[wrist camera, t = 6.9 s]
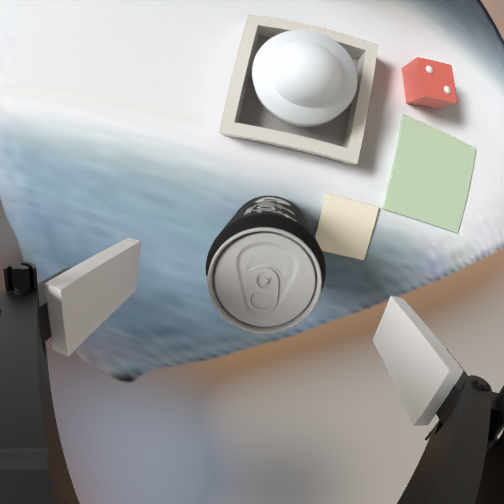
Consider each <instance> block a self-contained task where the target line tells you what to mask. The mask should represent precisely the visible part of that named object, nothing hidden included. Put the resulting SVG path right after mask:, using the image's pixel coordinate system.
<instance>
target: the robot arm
mask: <svg viewBox="0 0 504 504" xmlns="http://www.w3.org/2000/svg"><path fill="white" fill-rule="evenodd" d="M140 244H141V241H139V240H134V239H130V238H127V239H125V240H123V241H121V242H119V243H117V244H115V245H113V246H111V247H109V248H107V249H106V250H104V251H102V252H100V253H98V254H96V255H94V256H92V257H91V258H89V259H87V260H85V261H83V262H81V263H80V264H78V265H76V266H74V267H70V268H66V269H64V270H62V271H60V272H58V273H57V274H55V275H53V276H51V277H49V278H48V279H46V280H44V281H42V282H41V283H39V284H37V272H36V266H35V265H34V264H32V263H29V262H14V263H11V264H8V265H7V266H5V268H4V277H5V285H6V292H5V291H0V504H80V503H79V501H78V498H77V496H76V493H75V490H74V487H73V484H72V481H71V478H70V475H69V471H68V468H67V465H66V461H65V457H64V454H63V450H62V446H61V442H60V438H59V433H58V428H57V424H56V419H55V413H54V408H53V401H52V395H51V389H50V380H49V372H48V362H47V350H46V345H45V341H46V340H48V339H49V338H50V337H51V340H52V345H53V350H55V351H57V352H59V353H62V354H64V355H66V356H68V357H69V356H70V355H71V353H72V352H73V351H74V350H75V349H76V348H77V347H78V346H79V345H80V344H81V343H82V342H83V341H84V340H85V339H86V338H87V337H88V336H89V335H90V334H91V333H92V332H93V331H94V330H96V329H97V328H98V327H99V326H100V325H101V324H102V323H103V322H104V321H105V320H106V319H107V318H108V317H109V316H110V315H111V314H112V313H113V312H114V311H115V310H116V309H117V308H118V307H119V306H120V305H121V304H122V303H123V302H125V301H126V300H127V299H128V298H129V297H130V296H131V295H132V294H133V293H134V292H135V291H136V290H137V280H138V266H139V254H140ZM373 342H374V344H375V346H376V348H377V350H378V352H379V354H380V356H381V358H382V360H383V361H384V364H385V365H386V368H387V370H388V372H389V374H390V376H391V378H392V380H393V382H394V384H395V386H396V388H397V391H398V392H399V395H400V397H401V399H402V401H403V403H404V405H405V408H406V410H407V412H408V414H409V416H410V418H411V421H412V423H413V425H414V426H417V425H428V424H429V423H430V422H431V420H432V419H433V417H434V416H435V415H436V414H437V416H438V418H439V421H438V423H437V424H436V425H435V427H434V428H433V429H432V431H431V432H430V433H429V434H428V436H427V437H426V438H425V440H427V439H428V438H430V439H429V441H428V443H427V446H426V448H425V451H424V453H423V455H422V457H421V459H420V461H419V464H418V465H417V467H416V470H415V472H414V474H413V475H412V477H411V480H410V481H409V483H408V485H407V487H406V489H405V491H404V492H403V494H402V496H401V498H400V499H399V501H398V503H397V504H504V430H503V428H504V386H503V388H502V389H501V391H500V392H499V393H495V392H492V390H491V387H490V385H489V384H488V383H487V382H486V381H485V380H484V379H482V378H480V377H478V376H473V375H471V376H468V375H467V374H466V372H465V371H464V370H463V369H462V367H461V366H460V365H459V364H458V363H457V362H456V360H455V359H454V357H452V355H451V354H450V352H449V351H448V350H447V349H446V348H445V347H444V346H443V344H442V343H441V342H440V341H439V340H438V338H437V337H436V336H435V335H434V334H433V333H432V332H431V330H430V329H429V328H428V327H427V325H426V324H425V323H424V322H423V321H422V320H421V319H420V317H419V316H418V315H417V314H416V313H415V312H414V311H413V309H412V308H411V307H410V306H409V305H408V304H407V303H406V302H405V300H404V299H403V298H400V297H395V296H390V298H389V301H388V304H387V306H386V309H385V311H384V314H383V317H382V319H381V322H380V324H379V326H378V329H377V331H376V333H375V336H374V338H373ZM502 430H503V433H502V435H501V436H500V438H499V439H498V438H497V436H498V435H499V434H500V432H501V431H502Z"/></svg>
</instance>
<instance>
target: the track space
mask: <svg viewBox="0 0 504 504" xmlns="http://www.w3.org/2000/svg"><path fill="white" fill-rule="evenodd" d="M378 209H379V208H378V207H375V206H372V205H368V204H365V203H361V202H358V201H354V200H351V199H347V198H343V197H339V196H336V195H332V194H328V193H326V194H325V198H324V202H323V206H322V210H321V214H320V218H319V222H318V226H317V230H316V234H315V238H316V240H317V242H318V244H319V246H320V248H321V250H322V251H325V252H330V253H334V254H338V255H343V256H347V257H351V258H355V259H360V260H364V258H365V255H366V252H367V248H368V245H369V242H370V238H371V235H372V231H373V228H374V224H375V220H376V217H377V213H378Z"/></svg>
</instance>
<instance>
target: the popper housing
mask: <svg viewBox="0 0 504 504" xmlns="http://www.w3.org/2000/svg"><path fill="white" fill-rule="evenodd" d="M291 30H310V31H315V32H318V33H322V34H324V35H326V36H328V37H330V38H332V39H334V40H335V41H336V42H338V43H339V44H340V45H341V46H342V47H343V48H344V49H345V50H346V51H347V52H348V54H349V55H350V57H351V58H352V60H353V62H354V65H355V68H356V71H357V79H358V82H357V89H356V93H355V96H354V98H353V100H352V101H351V103H350V104H349V106H348V107H347V108H346V109H345V110H344V111H343V112H342V113H340V114H339V115H338V116H336V117H335V118H334V119H332V120H331V121H329V122H327V123H325V124H322V125H319V126H314V127H298V126H293V125H289V124H286V123H284V122H282V121H280V120H278V119H276V118H275V117H274V116H272V115H271V114H270V113H269V112H268V111H267V110H266V109H265V108H264V107H263V106H262V104H261V102H260V101H259V99H258V96H257V94H256V90H255V87H254V83H253V78H252V67H253V62H254V59H255V56H256V54H257V52H258V51H259V49H260V48H261V47H262V46H263V44H264V43H265V42H267V41H268V40H269V39H270V38H272V37H274V36H276V35H278V34H280V33H283V32H286V31H291ZM377 49H378V45H377V44H374V43H371V42H368V41H365V40H362V39H359V38H356V37H353V36H350V35H346V34H343V33H339V32H336V31H332V30H328V29H325V28H321V27H316V26H312V25H308V24H303V23H298V22H293V21H288V20H282V19H277V18H270V17H264V16H256V15H248V17H247V21H246V24H245V28H244V32H243V35H242V39H241V43H240V47H239V50H238V54H237V58H236V62H235V66H234V70H233V74H232V78H231V82H230V87H229V91H228V95H227V99H226V104H225V108H224V113H223V117H222V122H221V126H220V131H219V133H221V134H223V135H224V136H230V137H235V138H241V139H246V140H252V141H257V142H262V143H267V144H271V145H276V146H281V147H285V148H289V149H294V150H298V151H302V152H306V153H310V154H314V155H318V156H322V157H326V158H330V159H333V160H337V161H341V162H344V163H348V164H358V159H359V154H360V150H361V145H362V140H363V135H364V130H365V125H366V119H367V114H368V109H369V103H370V97H371V91H372V85H373V78H374V71H375V64H376V57H377Z"/></svg>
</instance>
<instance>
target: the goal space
mask: <svg viewBox="0 0 504 504" xmlns="http://www.w3.org/2000/svg"><path fill="white" fill-rule="evenodd" d="M475 152H476V148H474V147H472V146H470V145H468V144H467V143H465V142H463V141H461V140H459V139H457V138H455V137H453V136H451V135H449V134H447V133H445V132H442V131H440V130H438V129H436V128H434V127H432V126H429V125H427V124H425V123H423V122H420V121H418V120H416V119H413V118H411V117H408V116H406V115H402V120H401V126H400V132H399V138H398V143H397V148H396V153H395V158H394V163H393V167H392V172H391V176H390V181H389V185H388V189H387V193H386V197H385V201H384V205H383V209H385V210H388V211H392V212H395V213H398V214H401V215H405V216H408V217H411V218H414V219H417V220H420V221H423V222H426V223H429V224H432V225H435V226H438V227H441V228H444V229H447V230H450V231H453V232H455V233H458V230H459V227H460V223H461V219H462V215H463V212H464V208H465V203H466V199H467V195H468V190H469V186H470V181H471V176H472V170H473V165H474V159H475Z"/></svg>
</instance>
